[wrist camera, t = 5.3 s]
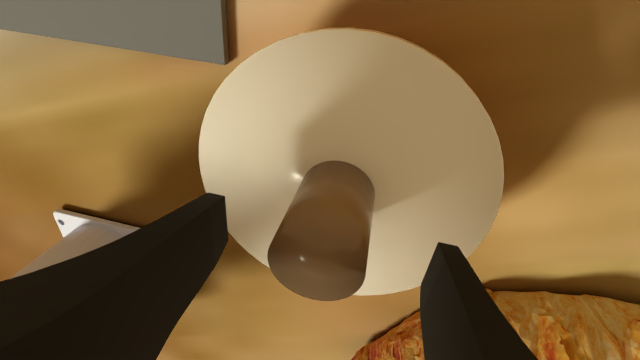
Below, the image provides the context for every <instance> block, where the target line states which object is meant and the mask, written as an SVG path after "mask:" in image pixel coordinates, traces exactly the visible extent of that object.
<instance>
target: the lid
mask: <svg viewBox="0 0 640 360" xmlns="http://www.w3.org/2000/svg"><path fill="white" fill-rule="evenodd" d="M199 164H200V171H201V177H202V180H203V184H204V188H205V191H206V193H213V194H218V195H223V196H225V202H226V215H227V228H228V232H229V233H230V234H231V235H232V237H233V238H234V239H235V240H236V241H237V242H238V243H239V244H240V245H241V246H242V247H243V248H244V249H245V250H246V251H247V252H248V253H249V254H251V255H252V256H253V257H255V258H256V259H257V260H258V261H260V262H261V263H263V264H264V265H266V266H267V267H269V268H270V269H271V271H272V273H273V274H274V276H275V277H276V278H277V279H278V281H279V282H280V283H282V284H283V285H284V286H285V287H286V288H288V289H289V290H291V291H293V292H294V293H296V294H299V295H301V296H303V297H306V298H310V299H314V300H320V301H334V300H340V299H344V298H347V297H349V296H351V295H382V294H390V293H396V292H400V291H405V290H409V289H412V288H415V287H418V286H421V283H422V280H423V278H424V275H425V273H426V271H427V268H428V266H429V263H430V261H431V258H432V256H433V253H434V251H435V249H436V246H437V244H438V242H441V243H446V244H450V245H455V246H458V247H459V248H460V250H461V251H462V253H463V255H464V256H465V258H468V256H469V255H470V254H471V253H472V252H473V251H474V250H475V249H476V248H477V247H478V246H479V245H480V243H481V242H482V240H483V239H484V237H485V236H486V235H487V233H488V232H489V230H490V228H491V226H492V224H493V222H494V220H495V218H496V216H497V212H498V209H499V206H500V203H501V199H502V193H503V185H504V160H503V155H502V150H501V146H500V141H499V138H498V135H497V133H496V130H495V128H494V125H493V123H492V120H491V118H490V117H489V115H488V113H487V112H486V110H485V108H484V107H483V105H482V103H481V102H480V100H479V99H478V97H477V96H476V94H475V93H474V91H473V90H472V89H471V88H470V87H469V86H468V84H467V83H466V82H465V81H464V80H463V78H462V77H461V76H460V75H459V74H458V73H457V72H456V71H454V70H453V69H452V68H451V67H450V66H449V65H447V64H446V63H445V62H444V61H443V60H442V59H440V58H438V57H437V56H435V55H434V54H432V53H431V52H429V51H427V50H426V49H424V48H423V47H421V46H419V45H416V44H414V43H412V42H410V41H407V40H405V39H403V38H400V37H398V36H394V35H391V34H387V33H383V32H380V31H376V30H369V29H361V28H353V27H339V28H323V29H317V30H311V31H305V32H302V33H299V34H296V35H293V36H290V37H287V38H284V39H281V40H279V41H277V42H275V43H273V44H271V45H269V46H267V47H265V48H263V49H261V50H259V51H257V52H256V53H254V54H253V55H252V56H250V57H249V58H247V59H246V60H245V61H243V62H242V63H241V64H239V65H238V66H237V67H236V68H235V69H234V70H233V71H232V72H231V73H230V74H229V75H228V76H227V77H226V78H225V80H224V81H223V82H222V84H221V85H220V87H219V88H218V89H217V91H216V92H215V94H214V96H213V98H212V100H211V102H210V104H209V106H208V108H207V110H206V113H205V116H204V119H203V123H202V126H201V132H200V139H199Z"/></svg>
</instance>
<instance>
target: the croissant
mask: <svg viewBox="0 0 640 360" xmlns="http://www.w3.org/2000/svg"><path fill="white" fill-rule="evenodd" d="M486 290H487V292H488V293H489V295H490V296H491V298H492V299H493V301H494V302H495V304H496V305H497V306H498V308H499V309H500V311H501V312H502V314H503V315H504V316H505V318H506V319H507V321H508V322H509V323H510V324H511V326H512V327H513V328H514V330H515V331H516V332H517V334H518V335H519V336H520V338H521V339H522V340H523V342H524V343H525V344H526V345H527V347H528V348H529V349H530V350H531V351H532V353H533V354H534V355H535V356H536V358H537V359H538V360H640V305H639V304H633V303H628V302H623V301H620V300H615V299H611V298H607V297H600V296H593V295H587V294H583V295H565V294H556V293H549V292H546V291H537V292H515V291H494V292H492V291H491V290H490V289H488V288H487V289H486ZM352 360H425V359H424V349H423V340H422V330H421V319H420V311H419V312H416V313H415V314H413V315H412V316H410V317H408V318H407V319H405V320H404V321H403V322H402V323H401V324H400V325H399V326H397V327H395V328H393V329H391V330H390V331H389V332H388V333H387V334H385V335H383V336H382V337H380V338H378V339H377V340H375V341H374V342H371V343H369V344H367V345H366V346H364V347H363V348H361V349H360V350H359V351H358V352H357V353H356V354H355V356H354V357H353V358H352Z"/></svg>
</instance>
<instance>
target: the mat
mask: <svg viewBox="0 0 640 360" xmlns="http://www.w3.org/2000/svg"><path fill="white" fill-rule="evenodd" d="M0 29H3V30H10V31H16V32H22V33H28V34H35V35H41V36H47V37H53V38H60V39H66V40H72V41H78V42H85V43H91V44H97V45H103V46H109V47H116V48H122V49H128V50H134V51H141V52H147V53H153V54H159V55H166V56H172V57H178V58H184V59H191V60H197V61H203V62H209V63H216V64H222V65H225V64H228V63H229V48H228V30H227V11H226V0H0Z"/></svg>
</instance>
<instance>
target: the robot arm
mask: <svg viewBox="0 0 640 360" xmlns="http://www.w3.org/2000/svg"><path fill="white" fill-rule="evenodd" d="M53 215H54V218H55V220H56V222H57V224H58V226H59V229H60V231H61V233H62V235H63V237H64V238H62V239H61V240H60V241H58V242H57V243H56V244H54V245H53V246H52V247H50V248H49V249H48V250H46V251H45V252H44V253H42V254H41V255H40V256H38V257H37V258H36V259H34V260H33V261H32V262H30V263H29V264H28V265H27V266H25V267H24V268H23V269H21V270H20V271H19V272H17V273H16V274H15V275H13V276H12V277H11V278H9V279H8V280H4V281H1V282H0V360H156V359H157V357H158V355H159V353H160V351H161V350H162V348H163V346H164V344H165V342H166V340H167V339H168V337H169V335H170V333H171V332H172V330H173V328H174V327H175V325H176V324H177V322H178V320H179V319H180V318H181V316H182V315H183V313H184V312H185V310H186V309H187V307H188V306H189V304H190V303H191V301H192V300H193V298H194V297H195V295H196V294H197V293H198V291H199V290H200V288H201V287H202V285H203V284H204V282H205V281H206V279H207V278H208V276H209V275H210V273H211V272H212V270H213V269H214V267H215V266H216V264H217V262H218V260H219V258H220V256H221V254H222V252H223V250H224V248H225V246H226V244H227V242H228V228H227V215H226V202H225V196H223V195H218V194H213V193H207V194H205V195H202V196H201V197H199V198H197V199H195V200H193V201H191V202H189V203H188V204H186V205H184V206H182V207H180V208H178V209H177V210H175V211H173V212H171V213H169V214H167V215H165V216H164V217H162V218H160V219H158V220H156V221H154V222H152V223H150V224H148V225H146V226H144V227H142V228H139V227H135V226H130V225H126V224H122V223H118V222H113V221H109V220H105V219H101V218H97V217H92V216H88V215H84V214H80V213H75V212H71V211H67V210H63V209H58V210H56V211H55V212H54V213H53ZM420 319H421V330H422V340H423V349H424V359H425V360H538V359H537V358H536V356H535V355H534V354H533V353H532V351H531V350H530V349H529V348H528V347H527V345H526V344H525V343H524V342H523V340H522V339H521V338H520V336H519V335H518V334H517V332H516V331H515V330H514V328H513V327H512V326H511V324H510V323H509V322H508V321H507V319H506V318H505V316H504V315H503V314H502V312H501V311H500V309H499V308H498V306H497V305H496V304H495V302H494V301H493V299H492V298H491V296H490V295H489V293H488V292H487V290H486V289H485V287H484V286H483V284H482V283H481V281H480V280H479V278H478V277H477V275H476V273H475V272H474V270H473V269H472V267H471V266H470V264H469V262H468V261H467V259H466V258H465V256H464V255H463V253H462V251H461V250H460V248H459V247H458V246H455V245H450V244H446V243H441V242H438V244H437V246H436V249H435V251H434V253H433V256H432V258H431V261H430V263H429V266H428V268H427V271H426V273H425V275H424V278H423V280H422V283H421V292H420Z"/></svg>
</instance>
